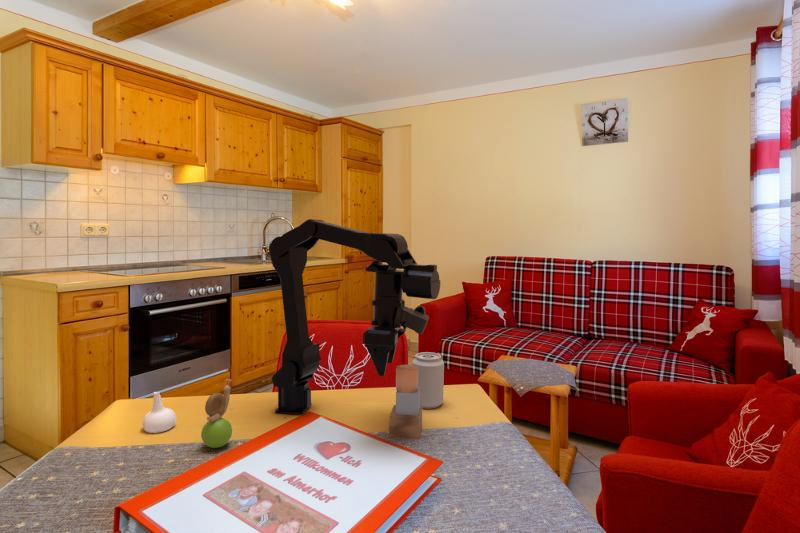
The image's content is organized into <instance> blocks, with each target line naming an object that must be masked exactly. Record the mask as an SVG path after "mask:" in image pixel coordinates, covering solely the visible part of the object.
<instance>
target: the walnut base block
mask: <svg viewBox="0 0 800 533" xmlns="http://www.w3.org/2000/svg"><path fill="white" fill-rule="evenodd" d="M388 420H389V423H388V424H389V426H388V427H389V428H388V429H389V431H388V432H389V435H388V437H389V438H399V439H400V438H402V439H415V440H420V437H421V431H422V428H423V408H422V407H420V408H419V413H418V416H415V415H398V414H396V404H394V405H393V407H392V409H391V412H390V413H389V419H388Z"/></svg>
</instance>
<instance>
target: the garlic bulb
mask: <svg viewBox="0 0 800 533" xmlns="http://www.w3.org/2000/svg"><path fill="white" fill-rule="evenodd" d="M152 402H153V403H152V408H151V410H150V411H149V412H147V413H146V414H145V416H144V417H143V420H142V428H143V430H144V431H145V432H147V433H150V434H157V433H163V432H166V431H169V430H170V429H172V428H174V426H175V425H176V422H177V415H176V413H175V411H174V410H172V408H170V407H165V406H164V404H163V399H162V397H161V394H160V391H154V392H153V400H152Z"/></svg>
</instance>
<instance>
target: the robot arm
mask: <svg viewBox="0 0 800 533" xmlns="http://www.w3.org/2000/svg"><path fill="white" fill-rule="evenodd" d="M319 241H324V242H329V243H332V244H336V245H339V246H344V247H348V248H350V249H351V248H352V249H354V250H358V251H359V252H362V253H363V254H364V255H366V256H367V257H370V258H371V259H373V261H372V262H371V264H369V265H368V266H367V267H366V268H365V269H364V270H365V272H368V273H374V274H375V275H374V298H373V299H372V301H371V306H373V319H371V322H370V324H371V326H370V327H369V328H368V329H366V330H365V331H364V332H363V333H362V344H364V347H365V348H366V349H367V352H368V354H369V356H370V359H371V360H372V363H373V365H374V368H375V371H376V373H377V376H379V377H384V376H385V374H386V369H387V364H392V363H393V361H394V357H395V353H396V349H397V345H398V341H399V338H400V337H402V336H403V335H404V334H405V332H406V331H407V329H409V330H412V331H414V332H415V333H416V334H419V335H423V333H424V331H425V329H426V326H427V324H428V321H429V319H430V316H429V314H426V308H425V307H424V306H422V305H418V306H416V307H415V308H414V309H413V307H408V306H406V302H405V301H406V300H404V298H403V293H404V294H405V295H406V296H407V297H408V298H418V299H426V300H428V299H429V300H436V299H437V298H438V297H439V294H440V290H441V289H440V288H441V280H440V274H439V272H438V265H437V264H418V262H417V261H416V260H415V257H413V255H412V253H411V252H410V249H408V248H409V246H408V241H407V239H405V237H404V236H403V235H402V234H399V233H385V232H368V231H363V230H360V229H355V228H351V227H347V226H342V225H339V224H334V223H331V222H326V221H325V220H322V219H315V218H314V219H306V220H305V221H304V222H302V223H301V224H300V225H298V226H297V227H295V228H292V229H290V230H289V231H287V232H285V233H283V234H282V235H281V236H276V237H274V238H273V239H272V240H271V242H270V243H269V245H268V253H269V257H270V260H271V264H272V267H273V268H274V270H275V271H276V273H277V274H278V277H279V280H280V286H281V287H280V289H281V295H282V297H281V298H282V307H283V316H284V324H285V325H284V326H285V327H284V328H285V334H286V342H285V345H284V347H283V350H282V354H281V367H280V368H279V369H278V370H277V371H276V372H275V373H274V374H273V375H272V376H271V381H272V384H273V387H274V388H275V387H276V388H277V405H278V406H277V407H276V408H275V409H274V412H275V414H276V413H279V414H290V415H304V413H305V412H306V411H307V410H308V409H309V408H310V407H311V406H312V389H311V387H310V381H309V380H313V377H314V375H315V373H316V372H317V370H318V369H319V368H320V362H321V361H322V357H321V354H320V348H321V346H320V343H318V342H316V343H314V342H313V341H312V339H311V338H310V335H309V328H308V327H309V326H308V325H309V324H308V317H307V315H308V314H307V308H306V299H305V288H304V287H305V286H304V278H303V274H304V271H305V267H306V265H307V262H308V252H309V251H310V250H311V249H313V248H314V247H315V246H316V245H317V244H318V242H319ZM383 263H385V264H383ZM401 327H402V328H401Z"/></svg>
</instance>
